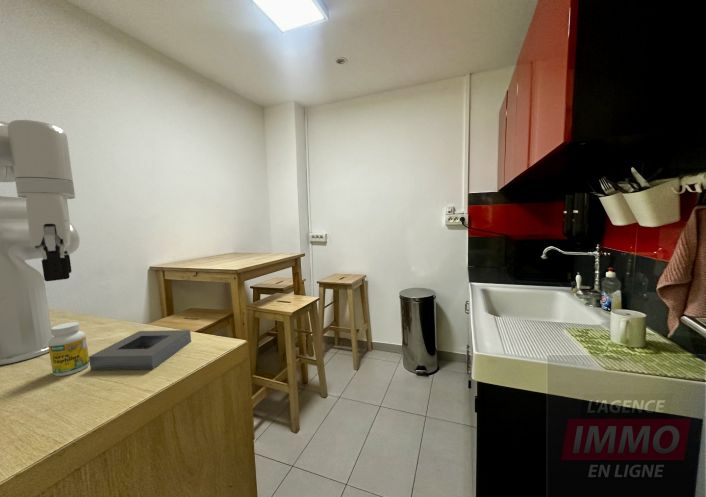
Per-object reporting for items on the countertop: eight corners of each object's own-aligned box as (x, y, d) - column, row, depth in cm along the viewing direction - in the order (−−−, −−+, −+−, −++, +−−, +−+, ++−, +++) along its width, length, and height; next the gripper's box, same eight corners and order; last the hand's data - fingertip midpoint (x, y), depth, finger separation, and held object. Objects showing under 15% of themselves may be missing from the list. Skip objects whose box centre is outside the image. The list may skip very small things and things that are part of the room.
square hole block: (90, 370, 56) (88, 356, 56) (140, 342, 69) (139, 331, 69) (152, 369, 56) (151, 355, 56) (191, 341, 69) (190, 330, 69)
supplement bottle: (92, 360, 61) (86, 318, 60) (86, 371, 56) (80, 326, 55) (57, 368, 58) (51, 324, 57) (48, 380, 53) (41, 332, 52)
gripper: (24, 193, 57) (36, 274, 58) (7, 183, 44) (23, 286, 46) (75, 194, 62) (85, 269, 64) (72, 186, 50) (85, 279, 51)
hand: (59, 276), depth 55 cm, fingers open, 9 cm apart
